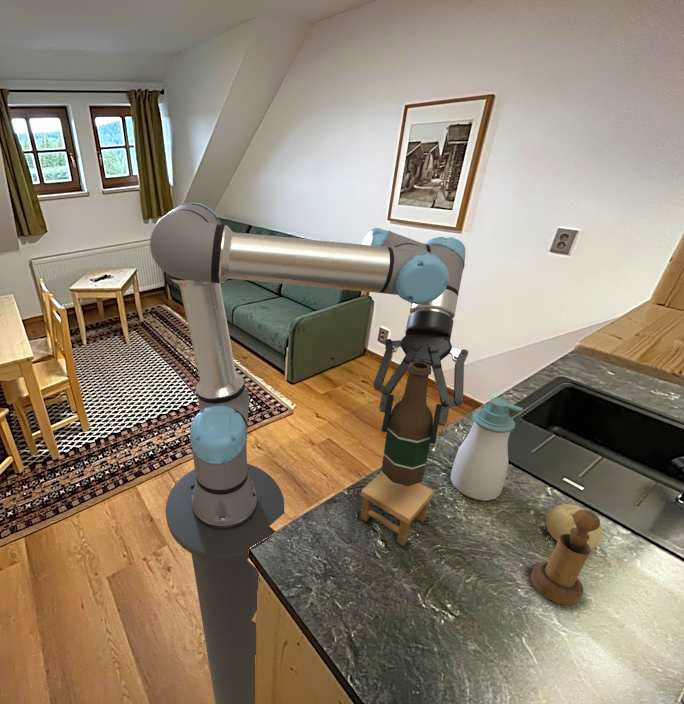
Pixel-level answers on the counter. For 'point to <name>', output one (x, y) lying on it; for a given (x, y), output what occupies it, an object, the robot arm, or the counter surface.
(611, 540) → the counter surface
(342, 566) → the counter surface
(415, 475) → the beer bottle
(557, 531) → the onion
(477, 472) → the soap bottle
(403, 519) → the stool
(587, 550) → the mortar and pestle
